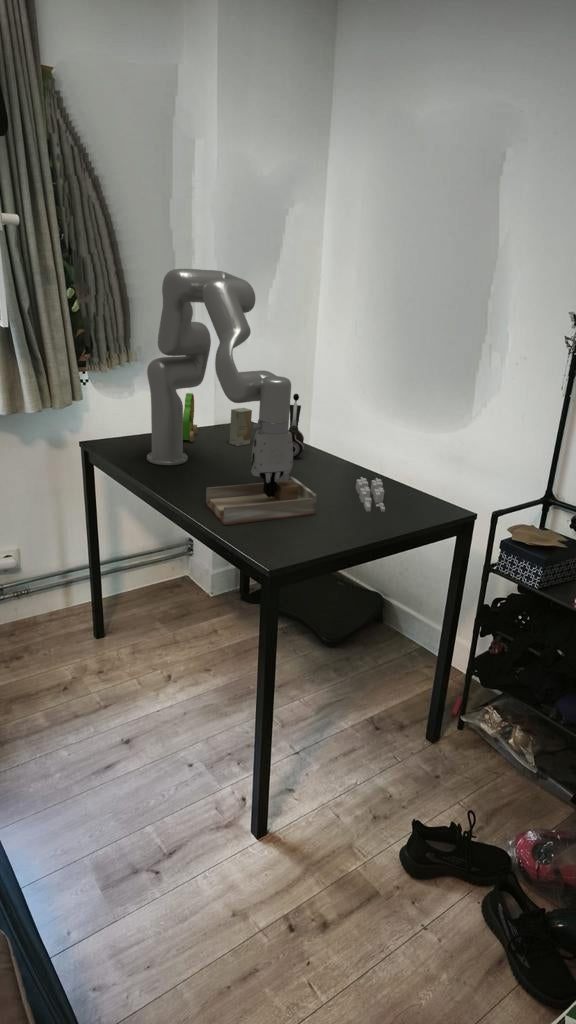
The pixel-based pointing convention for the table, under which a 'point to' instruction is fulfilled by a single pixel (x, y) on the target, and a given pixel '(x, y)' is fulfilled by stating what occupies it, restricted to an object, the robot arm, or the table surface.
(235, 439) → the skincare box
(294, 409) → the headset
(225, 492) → the trap box
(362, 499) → the modular blocks
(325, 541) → the table surface
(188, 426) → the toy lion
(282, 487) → the walnut block
